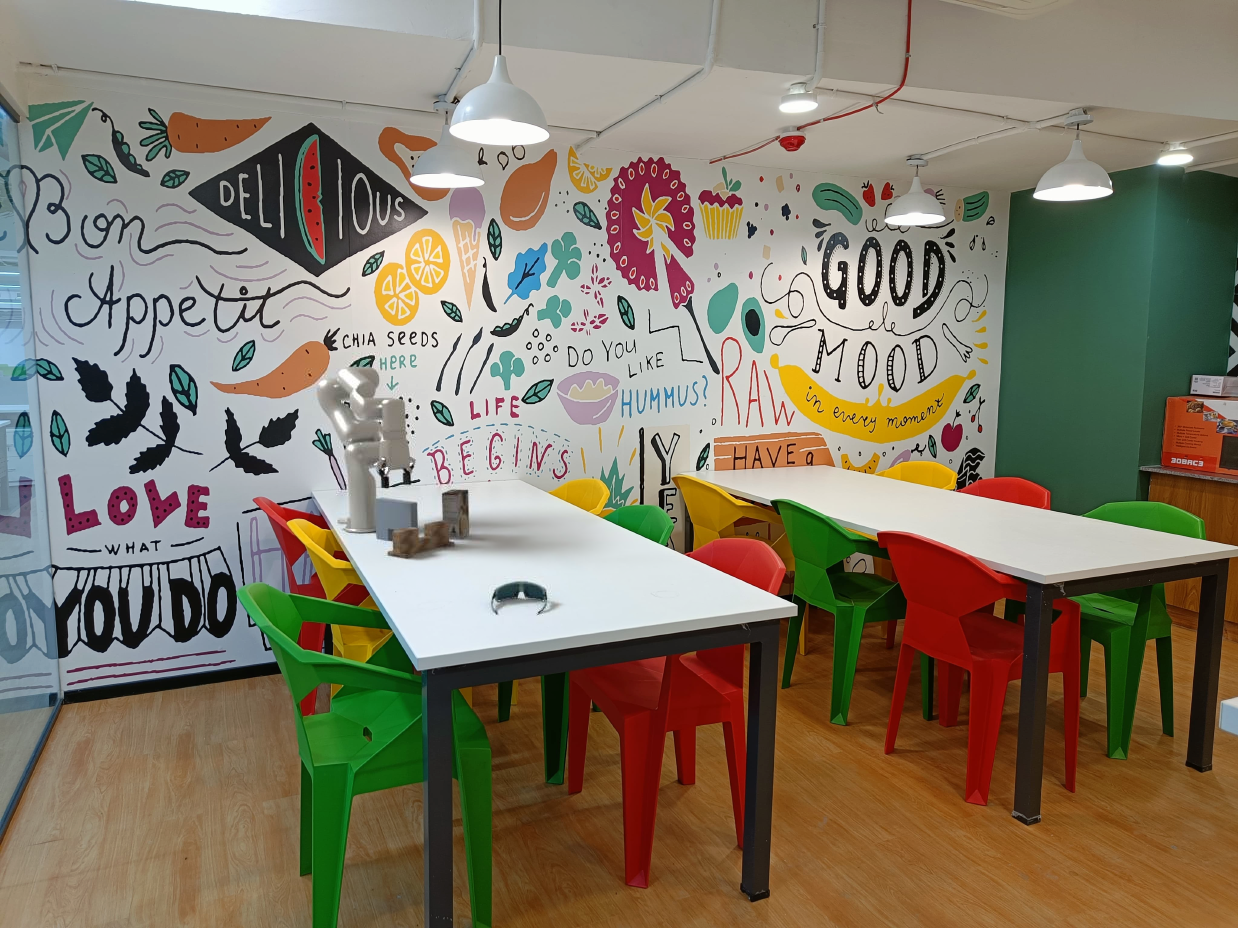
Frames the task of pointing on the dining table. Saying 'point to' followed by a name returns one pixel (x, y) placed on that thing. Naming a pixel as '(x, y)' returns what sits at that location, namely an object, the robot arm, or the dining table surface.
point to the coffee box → (456, 512)
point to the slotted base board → (420, 539)
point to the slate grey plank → (394, 516)
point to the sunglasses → (515, 588)
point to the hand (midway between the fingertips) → (396, 486)
